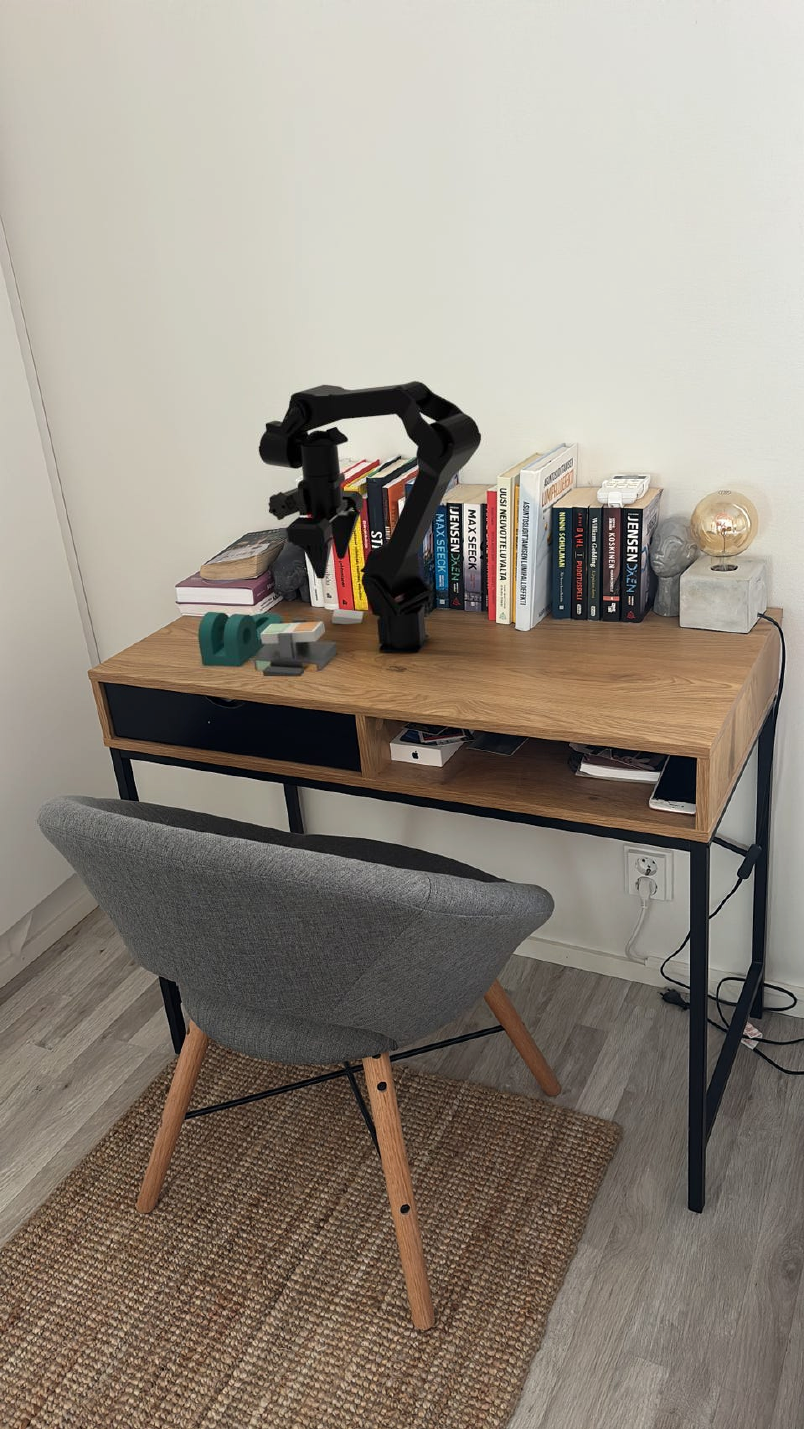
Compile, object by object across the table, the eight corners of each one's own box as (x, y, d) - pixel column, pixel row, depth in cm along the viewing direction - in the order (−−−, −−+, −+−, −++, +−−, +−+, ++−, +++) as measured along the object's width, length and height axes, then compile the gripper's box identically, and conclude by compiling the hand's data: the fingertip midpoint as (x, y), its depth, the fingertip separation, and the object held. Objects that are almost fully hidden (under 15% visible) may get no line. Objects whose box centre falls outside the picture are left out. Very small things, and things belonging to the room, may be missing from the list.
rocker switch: (326, 630, 178) (323, 619, 177) (314, 642, 174) (312, 631, 173) (273, 632, 181) (271, 622, 180) (261, 644, 177) (258, 634, 176)
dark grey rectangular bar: (305, 679, 176) (303, 668, 175) (300, 684, 174) (299, 673, 173) (268, 676, 177) (267, 666, 177) (264, 681, 176) (262, 671, 175)
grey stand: (337, 659, 181) (333, 619, 178) (321, 679, 175) (316, 638, 172) (273, 655, 184) (268, 616, 181) (255, 674, 178) (249, 634, 175)
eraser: (361, 618, 192) (363, 611, 196) (332, 615, 193) (334, 608, 196) (360, 625, 193) (362, 618, 196) (332, 623, 193) (334, 615, 196)
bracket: (240, 671, 181) (233, 624, 177) (203, 667, 183) (195, 621, 179) (290, 627, 195) (284, 583, 192) (254, 624, 198) (248, 580, 194)
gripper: (295, 455, 187) (306, 547, 194) (248, 488, 171) (261, 587, 178) (360, 456, 184) (368, 549, 191) (317, 489, 168) (328, 590, 175)
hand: (331, 568), depth 184 cm, fingers open, 9 cm apart
